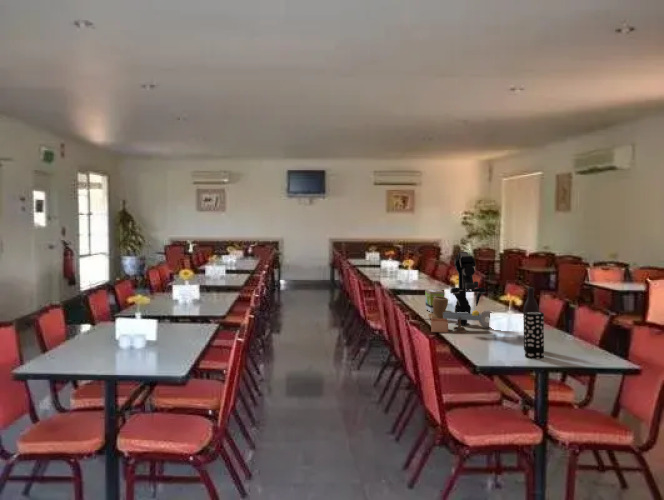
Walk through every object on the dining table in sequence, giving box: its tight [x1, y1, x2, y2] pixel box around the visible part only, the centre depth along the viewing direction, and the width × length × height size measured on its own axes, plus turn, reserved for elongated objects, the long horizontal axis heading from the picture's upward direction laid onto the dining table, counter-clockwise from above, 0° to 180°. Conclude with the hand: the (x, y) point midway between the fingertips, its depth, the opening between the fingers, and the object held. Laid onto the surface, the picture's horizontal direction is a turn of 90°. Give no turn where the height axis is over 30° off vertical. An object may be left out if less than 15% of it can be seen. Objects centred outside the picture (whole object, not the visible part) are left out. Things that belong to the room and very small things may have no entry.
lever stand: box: [453, 318, 466, 334], centre depth 382 cm, size 6×15×8 cm, turn 172°
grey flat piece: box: [443, 311, 481, 321], centre depth 386 cm, size 21×16×3 cm
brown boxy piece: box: [430, 315, 449, 333], centre depth 384 cm, size 10×11×8 cm
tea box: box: [424, 288, 445, 313], centre depth 466 cm, size 15×10×15 cm
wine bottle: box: [522, 287, 540, 351], centre depth 320 cm, size 7×7×30 cm
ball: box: [471, 309, 480, 316], centre depth 381 cm, size 4×4×4 cm
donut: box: [478, 310, 493, 329], centre depth 390 cm, size 10×3×10 cm, turn 99°
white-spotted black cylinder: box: [524, 311, 545, 360], centre depth 305 cm, size 8×8×20 cm
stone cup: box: [427, 296, 449, 320], centre depth 425 cm, size 15×12×15 cm
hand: (468, 306), depth 373 cm, fingers open, 9 cm apart
